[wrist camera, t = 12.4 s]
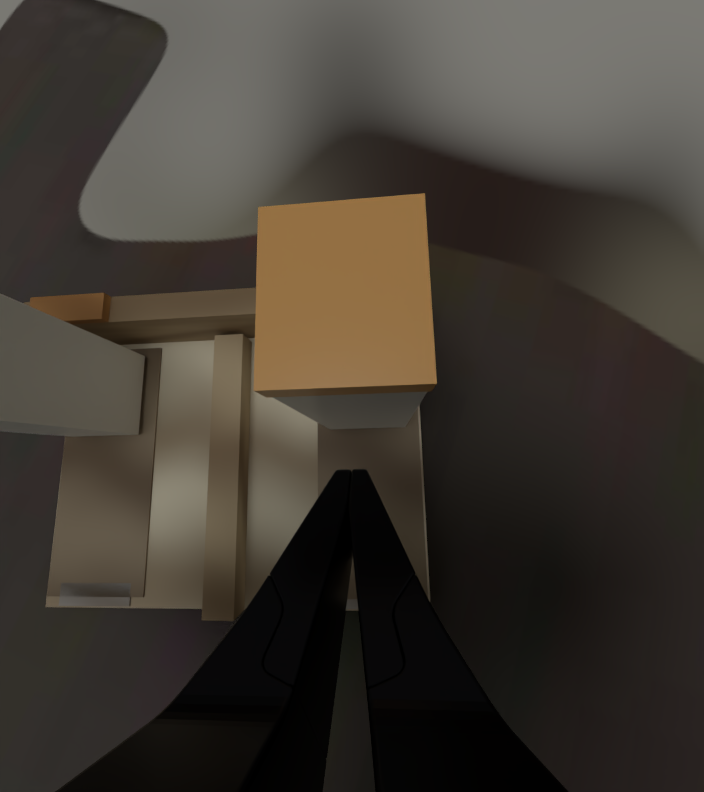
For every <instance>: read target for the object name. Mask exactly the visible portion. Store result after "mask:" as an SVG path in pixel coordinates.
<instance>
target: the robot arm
mask: <svg viewBox="0 0 704 792" xmlns="http://www.w3.org/2000/svg"><path fill="white" fill-rule="evenodd" d="M352 559H353V562H354V572H355V582H356V592H357V602H358V612H359V622H360V631H361V641H362V651H363V661H364V671H365V681H366V690H367V701H368V711H369V721H370V732H371V743H372V755H373V767H374V778H375V790H376V792H568V791H567V790H566V789H565V788H564V786H563V785H562V784H561V783H560V782H559V781H558V780H557V779H556V778H555V777H554V776H553V775H552V773H551V772H550V771H549V770H548V769H547V768H546V767H545V766H544V765H543V764H542V763H541V761H540V760H539V759H538V758H537V757H536V756H535V755H534V754H533V753H532V752H531V751H530V750H529V748H528V747H527V746H526V745H525V744H524V743H523V742H522V741H521V740H520V739H519V738H518V736H517V735H516V734H515V733H514V732H513V731H512V730H511V729H510V727H509V726H508V725H507V724H506V722H505V721H504V720H503V718H502V717H501V716H500V714H499V713H498V711H497V710H496V709H495V707H494V706H493V704H492V703H491V701H490V700H489V698H488V697H487V695H486V694H485V692H484V691H483V689H482V688H481V686H480V684H479V683H478V681H477V680H476V678H475V676H474V675H473V673H472V672H471V670H470V668H469V667H468V665H467V664H466V662H465V660H464V659H463V657H462V656H461V654H460V652H459V651H458V649H457V648H456V646H455V644H454V643H453V641H452V640H451V638H450V636H449V635H448V633H447V631H446V630H445V628H444V626H443V625H442V623H441V621H440V620H439V618H438V616H437V614H436V613H435V611H434V609H433V607H432V605H431V603H430V601H429V599H428V597H427V595H426V593H425V591H424V589H423V587H422V585H421V583H420V581H419V579H418V577H417V575H415V571H414V569H413V566H412V564H411V562H410V560H409V558H408V556H407V554H406V551H405V549H404V547H403V545H402V543H401V541H400V539H399V537H398V534H397V532H396V530H395V528H394V526H393V524H392V522H391V520H390V517H389V515H388V513H387V511H386V509H385V507H384V505H383V503H382V500H381V498H380V496H379V494H378V492H377V490H376V488H375V485H374V483H373V481H372V479H371V477H370V475H369V473H368V471H367V470H366V469H353V470H352V471H351V470H349V469H339V470H336V471H335V472H334V473H333V475H332V477H331V478H330V480H329V481H328V483H327V484H326V486H325V488H324V489H323V491H322V492H321V494H320V495H319V497H318V498H317V500H316V502H315V503H314V505H313V506H312V508H311V509H310V511H309V512H308V514H307V516H306V517H305V519H304V520H303V522H302V523H301V525H300V526H299V528H298V530H297V531H296V533H295V534H294V536H293V537H292V539H291V541H290V542H289V544H288V545H287V547H286V548H285V550H284V551H283V553H282V555H281V556H280V558H279V559H278V561H277V562H276V564H275V565H274V567H273V569H272V570H271V572H270V575H269V576H267V578H266V579H265V581H264V582H263V584H262V585H261V587H260V589H259V590H258V592H257V593H256V595H255V596H254V597H253V599H252V600H251V602H250V603H249V605H248V606H247V608H246V609H245V611H244V612H243V613H242V615H241V616H240V617H239V618H238V620H237V621H236V622H235V624H234V625H233V626H232V628H231V629H230V630H229V632H228V633H227V634H226V635H225V637H224V638H223V639H222V640H221V642H220V643H219V644H218V646H217V647H216V648H215V649H214V651H213V652H212V653H211V654H210V656H209V657H208V658H207V659H206V661H205V662H204V663H203V664H202V666H201V667H200V668H199V669H198V671H197V672H196V673H195V674H194V676H193V677H192V678H191V680H190V681H189V682H188V683H187V685H186V686H185V687H184V688H183V689H182V691H181V692H180V693H179V694H178V695H177V696H176V698H175V699H174V700H173V701H172V702H171V703H170V704H169V705H168V706H167V707H166V708H165V709H164V710H163V711H162V712H161V713H160V714H158V715H157V716H156V717H155V718H154V719H153V720H151V721H150V722H149V723H148V724H146V725H145V726H144V727H142V728H141V729H139V730H138V731H137V732H135V733H134V734H133V735H131V736H130V737H129V738H127V739H126V740H125V741H123V742H122V743H121V744H119V745H118V746H116V747H115V748H114V749H112V750H111V751H110V752H108V753H107V754H106V755H104V756H103V757H102V758H100V759H99V760H98V761H96V762H95V763H94V764H92V765H91V766H89V767H88V768H87V769H85V770H84V771H83V772H81V773H80V774H79V775H77V776H76V777H75V778H73V779H72V780H71V781H69V782H68V783H66V784H65V785H64V786H62V787H61V788H60V789H58V790H57V791H56V792H323V784H324V776H325V769H326V758H327V753H328V745H329V737H330V729H331V722H332V714H333V706H334V698H335V691H336V683H337V675H338V668H339V660H340V652H341V644H342V637H343V629H344V621H345V613H346V606H347V598H348V590H349V582H350V575H351V567H352Z"/></svg>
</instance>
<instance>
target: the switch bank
mask: <svg viewBox="0 0 704 792" xmlns="http://www.w3.org/2000/svg"><path fill="white" fill-rule="evenodd" d="M24 304H26V305H28V306H30V307H32V308H35V309H37V310H39V311H42V312H44V313H46V314H49V315H51V316H53V317H56V318H58V319H60V320H63V321H65V322H67V323H69V324H72V325H74V326H76V327H79V328H81V329H83V330H86V331H88V332H90V333H93V334H95V335H97V336H100V337H102V338H104V339H106V340H109V341H111V342H113V343H116V344H118V345H120V346H123V347H125V348H127V349H130V350H132V351H134V352H137V353H139V354H141V355H143V356H145V361H144V374H143V386H142V399H141V411H140V423H139V435H110V436H77V437H71V436H65V443H64V452H63V461H62V469H61V478H60V486H59V495H58V504H57V512H56V521H55V530H54V538H53V547H52V556H51V564H50V573H49V582H48V590H47V599H46V607H88V608H170V609H202V621H234V620H235V619H236V618H237V617H238V616H239V615H240V614H241V613H242V612H243V610H244V609H246V608H247V606H248V605H249V603H250V602H251V600H252V599H253V597H254V596H255V595H256V593H257V592H258V590H259V589H260V587H261V585H262V584H263V582H264V581H265V579H266V578H267V576H269V575H270V572H271V570H272V569H273V567H274V565H275V564H276V562H277V561H278V559H279V558H280V556H281V555H282V553H283V551H284V550H285V548H286V547H287V545H288V544H289V542H290V541H291V539H292V537H293V536H294V534H295V533H296V531H297V530H298V528H299V526H300V525H301V523H302V522H303V520H304V519H305V517H306V516H307V514H308V512H309V511H310V509H311V508H312V506H313V505H314V503H315V502H316V500H317V498H318V497H319V495H320V494H321V492H322V491H323V489H324V488H325V486H326V484H327V483H328V481H329V480H330V478H331V477H332V475H333V473H334V472H335V471H336V470H339V469H349V470H351V471H352V470H353V469H366V470H367V471H368V473H369V475H370V477H371V479H372V481H373V483H374V485H375V488H376V490H377V492H378V494H379V496H380V498H381V500H382V503H383V505H384V507H385V509H386V511H387V513H388V515H389V517H390V520H391V522H392V524H393V526H394V528H395V530H396V532H397V534H398V537H399V539H400V541H401V543H402V545H403V547H404V549H405V551H406V554H407V556H408V558H409V560H410V562H411V564H412V566H413V569H414V571H415V575H417V577H418V579H419V581H420V583H421V585H422V587H423V589H424V591H425V593H426V595H427V597H428V599H429V601H430V586H429V568H428V550H427V532H426V514H425V495H424V477H423V459H422V441H421V423H420V405H419V406H418V408H417V409H416V411H415V412H414V414H413V415H412V417H411V419H410V420H409V422H408V423H407V425H406V427H394V428H360V429H328V428H327V427H325V426H323V425H321V424H319V423H318V422H316V421H314V420H312V419H310V418H309V417H307V416H305V415H303V414H301V413H300V412H298V411H296V410H294V409H292V408H291V407H289V406H287V405H285V404H283V403H282V402H280V401H278V400H276V399H274V398H273V397H269V398H266V397H264V396H262V395H260V394H259V393H257V392H255V391H254V354H255V316H256V288H243V289H227V290H212V291H196V292H180V293H164V294H149V295H133V296H117V297H110V296H109V295H107V294H105V293H95V294H79V295H64V296H48V297H33V298H31V299H30V302H24ZM346 611H358V602H357V592H356V582H355V572H354V562H353V559H352V567H351V575H350V582H349V590H348V598H347V606H346Z"/></svg>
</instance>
